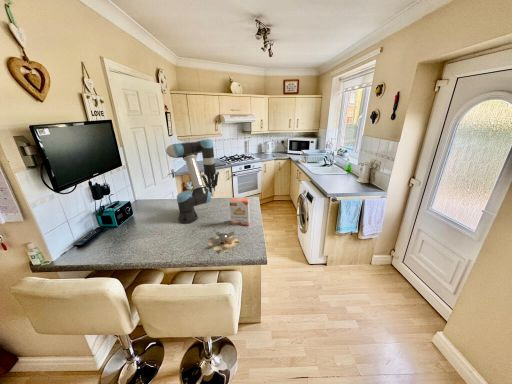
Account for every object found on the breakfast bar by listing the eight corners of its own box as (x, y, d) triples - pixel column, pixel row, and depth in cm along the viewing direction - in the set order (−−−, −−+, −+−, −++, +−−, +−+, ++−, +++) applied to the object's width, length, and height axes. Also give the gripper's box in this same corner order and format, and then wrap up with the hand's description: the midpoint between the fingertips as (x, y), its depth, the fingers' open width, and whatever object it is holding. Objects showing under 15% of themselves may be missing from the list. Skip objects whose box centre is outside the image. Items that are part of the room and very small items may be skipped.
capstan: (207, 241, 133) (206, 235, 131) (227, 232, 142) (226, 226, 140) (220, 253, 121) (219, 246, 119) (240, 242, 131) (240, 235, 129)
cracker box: (231, 225, 154) (229, 201, 146) (232, 221, 159) (230, 197, 151) (249, 226, 152) (247, 201, 144) (250, 222, 158) (249, 198, 150)
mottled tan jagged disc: (206, 243, 133) (205, 239, 132) (227, 233, 144) (227, 229, 142) (219, 256, 121) (219, 251, 120) (242, 244, 132) (241, 240, 130)
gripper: (202, 166, 126) (207, 200, 135) (220, 162, 134) (223, 195, 143) (197, 164, 131) (201, 197, 140) (214, 160, 139) (218, 192, 148)
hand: (212, 196), depth 141 cm, fingers closed
